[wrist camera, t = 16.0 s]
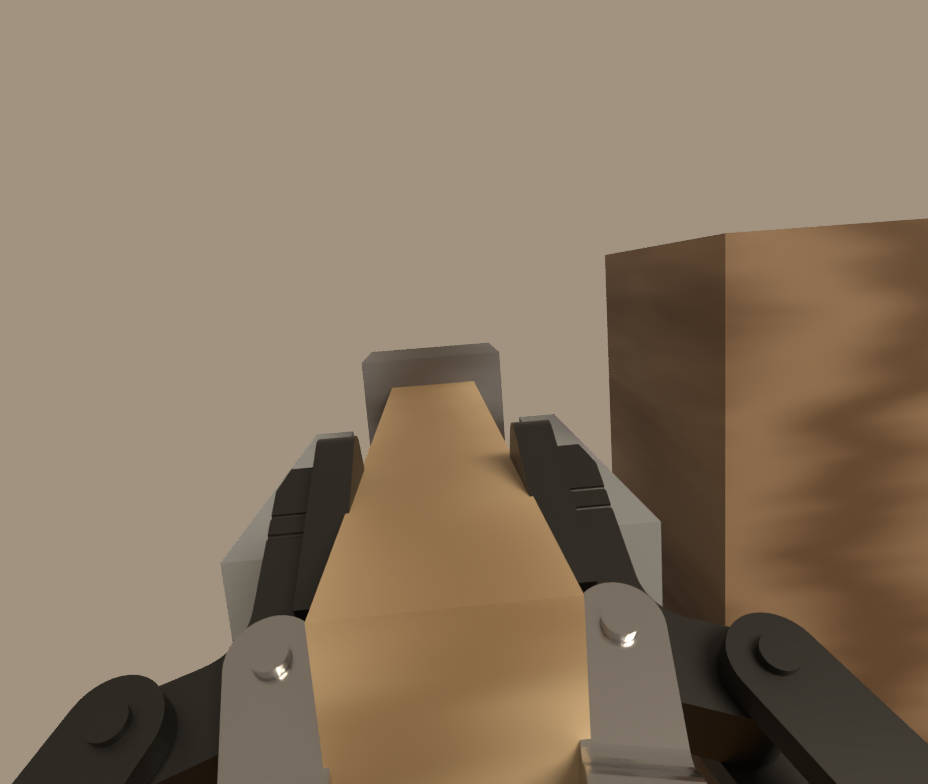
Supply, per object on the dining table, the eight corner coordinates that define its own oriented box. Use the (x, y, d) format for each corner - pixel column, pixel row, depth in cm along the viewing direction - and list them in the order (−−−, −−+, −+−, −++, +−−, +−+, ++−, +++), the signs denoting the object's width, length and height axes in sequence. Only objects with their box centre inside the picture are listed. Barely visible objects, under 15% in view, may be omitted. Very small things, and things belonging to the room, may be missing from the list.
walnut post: (809, 815, 32) (825, 238, 27) (999, 1079, 22) (1087, 207, 16) (624, 837, 32) (605, 255, 27) (725, 1118, 21) (725, 233, 16)
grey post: (577, 880, 30) (554, 414, 26) (675, 1267, 18) (660, 521, 14) (373, 905, 29) (317, 434, 25) (337, 1319, 18) (220, 562, 14)
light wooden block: (494, 433, 27) (488, 342, 26) (679, 824, 7) (673, 497, 6) (381, 443, 27) (371, 352, 26) (246, 875, 7) (195, 543, 6)
